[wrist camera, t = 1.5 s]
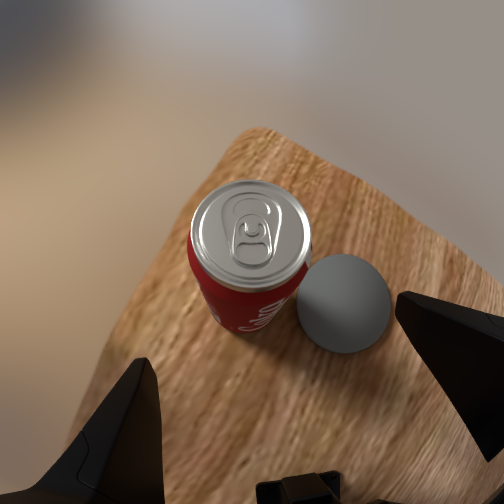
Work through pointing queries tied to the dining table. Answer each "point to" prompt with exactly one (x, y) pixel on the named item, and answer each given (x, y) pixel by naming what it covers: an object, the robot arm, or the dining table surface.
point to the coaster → (343, 304)
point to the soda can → (249, 251)
